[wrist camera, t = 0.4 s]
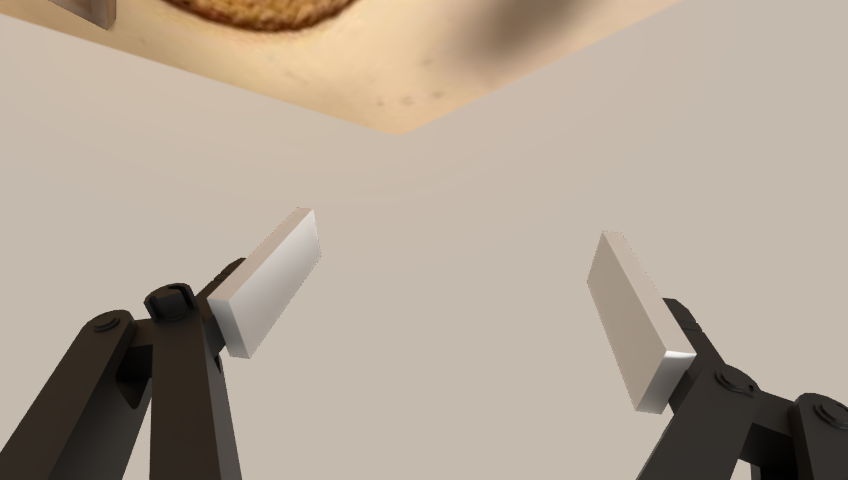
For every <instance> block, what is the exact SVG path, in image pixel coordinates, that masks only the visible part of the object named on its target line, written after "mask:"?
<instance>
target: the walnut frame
mask: <svg viewBox="0 0 848 480" xmlns="http://www.w3.org/2000/svg"><path fill="white" fill-rule="evenodd" d="M49 1H51V2H53V3H55V4H57V5H59V6H61V7H63V8H64V9H66V10H68V11H70V12H72V13H74V14H76V15H78V16H80V17H82V18H84V19H86V20H88V21H90V22H92V23H93V24H95V25H97V26H99V27H101V28H103V29H105V30H108V29H109V27H110V26H111V24H112V23H113V21H114V20H115V19H116V0H49Z"/></svg>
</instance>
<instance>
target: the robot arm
mask: <svg viewBox="0 0 848 480" xmlns="http://www.w3.org/2000/svg"><path fill="white" fill-rule="evenodd" d="M320 257H321V252H320V246H319V241H318V235H317V229H316V223H315V217H314V212H313V209H311V208H299V207H298V208H297V209H296V210H295V211H294V212H293V213H292V214H291V215H290V216H289V217H288V218H287V219H286V220H285V221H284V222H283V223H282V224H281V225H280V226H279V227H278V228H277V229H276V230H275V231H274V232H273V233H272V234H271V235H270V236H269V237H268V238H267V239H266V240H265V241H264V242H263V243H262V244H261V245H260V246H259V247H258V248H257V249H256V250H255V251H254V252H253V253H252V254H251V255H250V256H249V257H248V258H240V259H238V260H236V261H234V262H233V263H231V264H229V265H228V266H227V267H226V268H225V269H224V270H223V271H222V272H221V273H220V274H218V275H217V276H216V277H215V278H214V280H213V281H211V282H210V283H209V284H208V285H207V286H206V287H205V288H204V289H203V290H201V292H199V293H198V294H197V295H196V296H194V294H193V292H192V289H191V288H190V286H189V285H187V284H185V283H174V284H169V285H166V286H163V287H160V288H158V289H156V290H155V291H153V292H151V293H150V294H149V295H148V296H147V297H146V298H145V301H144V305H145V306H146V308H147V310H148V312H149V314H150V316H151V318H150V319H142V320H134V319H133V317H132V315H131V314H130V312H129V311H126V310H113V311H110V312H106V313H103V314H101V315H98V316H97V317H95V318H93V319H92V320H90V321H89V322H87V323H86V325H85V326H84V327H83V328H82V329H81V331H80V332H79V334H78V335H77V337H76V338H75V340H74V341H73V343H72V344H71V346H70V348H69V349H68V350H67V352H66V354H65V355H64V356H63V358H62V360H61V361H60V363H59V364H58V366H57V367H56V369H55V370H54V372H53V373H52V375H51V376H50V378H49V379H48V381H47V382H46V384H45V385H44V387H43V388H42V390H41V392H40V393H39V395H38V396H37V398H36V399H35V401H34V402H33V404H32V405H31V407H30V408H29V410H28V411H27V413H26V415H25V416H24V418H23V419H22V420H21V422H20V423H19V425H18V427H17V428H16V430H15V431H14V433H13V434H12V436H11V437H10V439H9V440H8V442H7V443H6V445H5V447H4V448H3V449H2V451H1V452H0V480H122V478H123V475H124V472H125V470H126V466H127V464H128V461H129V458H130V455H131V453H132V449H133V447H134V444H135V442H136V439H137V436H138V433H139V430H140V427H141V425H142V422H143V419H144V416H145V413H146V411H147V408H148V405H149V402H150V399H151V397H152V400H151V438H150V475H149V480H242V476H241V470H240V465H239V459H238V453H237V447H236V442H235V436H234V430H233V424H232V418H231V413H230V407H229V401H228V395H227V389H226V384H225V378H224V372H223V366H222V360H221V358H220V355H219V352H220V351H221V350H222V349H223V347H224V346H225V345H226V347H227V350H228V352H229V354H230V356H232V357H239V358H248V359H250V358H251V356H252V355H253V353H254V352H255V350H256V349H257V348H258V346H259V345H260V343H261V342H262V340H263V339H264V338H265V336H266V335H267V333H268V332H269V331H270V329H271V328H272V326H273V325H274V323H275V322H276V321H277V319H278V317H279V316H280V315H281V313H282V312H283V311H284V309H285V307H286V306H287V305H288V303H289V302H290V300H291V299H292V297H293V296H294V295H295V293H296V292H297V290H298V289H299V288H300V286H301V285H302V283H303V282H304V280H305V279H306V278H307V276H308V275H309V273H310V272H311V270H312V269H313V268H314V266H315V265H316V263H317V262H318V260H319V259H320ZM587 284H588V286H589V289H590V292H591V294H592V297H593V299H594V302H595V305H596V307H597V310H598V313H599V315H600V318H601V321H602V323H603V326H604V329H605V331H606V334H607V337H608V339H609V342H610V345H611V347H612V350H613V353H614V355H615V358H616V361H617V363H618V366H619V369H620V371H621V374H622V376H623V379H624V382H625V384H626V387H627V390H628V393H629V395H630V398H631V401H632V403H633V406H634V409H635V411H640V412H648V413H655V414H662V412H663V410H664V409H665V407H666V405H667V404H668V402H669V405H670V406H671V409H672V411H673V413H674V416H673V418H672V419H671V421H670V422H669V424H668V426H667V427H666V429H665V430H664V432H663V434H662V436H661V438H660V439H659V441H658V443H657V445H656V446H655V448H654V450H653V451H652V453H651V455H650V457H649V458H648V460H647V462H646V463H645V465H644V467H643V468H642V470H641V472H640V473H639V475H638V477H637V478H636V480H730V479H731V476H732V473H733V471H734V468H735V465H736V463H737V460H738V459H741V460H743V461H746V462H748V463H750V465H751V480H848V407H846V406H845V405H843V404H842V403H840V402H837V401H835V400H833V399H831V398H829V397H827V396H823V395H820V394H816V393H804V394H803V395H800V396H799V397H798V398H797V399H796V400H795V402H793V401H790V400H787V399H784V398H781V397H778V396H775V395H772V394H769V393H766V392H764V391H761V390H760V388H759V387H758V385H757V383H756V382H755V381H753V380H752V379H751V378H750V377H749V376H748V375H746V374H745V373H743V372H742V371H740V370H739V369H737V368H734V367H732V366H730V365H727V364H725V362H724V361H723V359H722V358H721V357H720V355H719V354H718V352H717V351H716V349H715V348H714V346H713V345H712V343H711V342H710V340H709V339H708V338H707V336H706V335H705V333H704V332H702V329H701V327H700V326H699V325H698V323H696V320H695V319H694V317H693V316H692V314H691V313H690V311H689V310H688V309H687V308H685V307H684V306H683V305H682V304H681V303H679V302H678V301H677V300H676V299H668V298H662V297H661V296H660V294H659V293H658V291H657V289H656V288H655V286H654V284H653V283H652V281H651V280H650V278H649V276H648V275H647V273H646V272H645V270H644V269H643V267H642V265H641V264H640V262H639V260H638V259H637V257H636V256H635V254H634V252H633V251H632V249H631V248H630V246H629V245H628V243H627V241H626V239H625V238H624V236H623V235H622V233H620V232H607V231H602V235H601V238H600V241H599V244H598V248H597V250H596V254H595V257H594V260H593V263H592V266H591V270H590V273H589V276H588V280H587Z"/></svg>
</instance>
